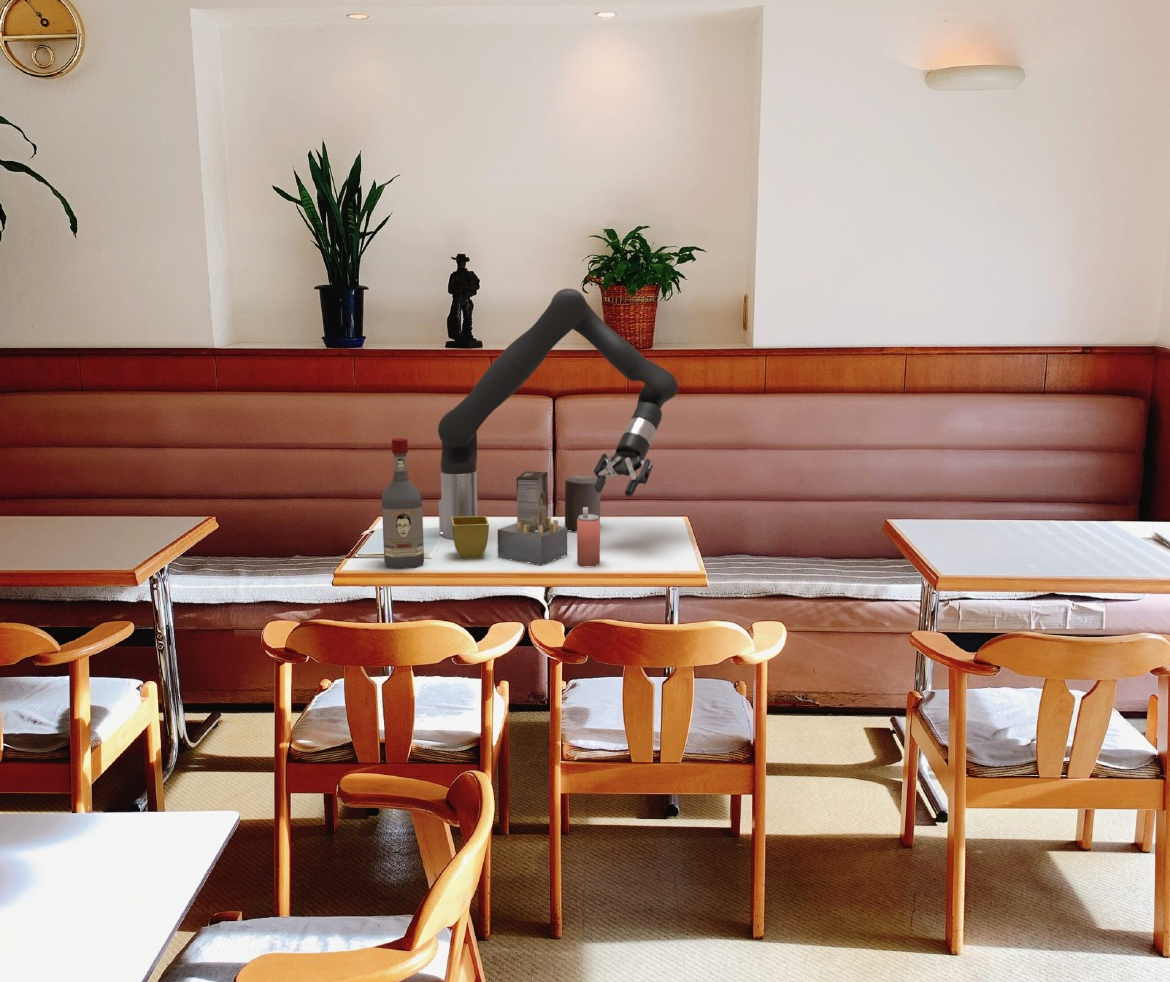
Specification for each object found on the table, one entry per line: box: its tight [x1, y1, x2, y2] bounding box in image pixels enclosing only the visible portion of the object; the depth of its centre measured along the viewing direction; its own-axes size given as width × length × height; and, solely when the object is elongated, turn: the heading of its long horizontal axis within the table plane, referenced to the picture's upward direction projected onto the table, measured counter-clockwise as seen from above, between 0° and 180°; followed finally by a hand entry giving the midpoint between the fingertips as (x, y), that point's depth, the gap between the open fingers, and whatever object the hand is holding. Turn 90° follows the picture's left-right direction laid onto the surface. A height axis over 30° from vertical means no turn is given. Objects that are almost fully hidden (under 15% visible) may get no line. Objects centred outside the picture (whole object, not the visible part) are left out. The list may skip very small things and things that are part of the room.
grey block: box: [497, 516, 568, 566], centre depth 255 cm, size 16×11×9 cm
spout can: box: [576, 507, 601, 567], centre depth 248 cm, size 5×5×14 cm
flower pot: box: [451, 515, 490, 559], centre depth 255 cm, size 9×9×9 cm
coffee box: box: [516, 471, 549, 524], centre depth 276 cm, size 9×6×16 cm
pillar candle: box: [564, 474, 602, 531], centre depth 281 cm, size 10×10×15 cm
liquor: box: [381, 437, 425, 570], centre depth 246 cm, size 9×9×30 cm
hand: (612, 493), depth 255 cm, fingers open, 8 cm apart
